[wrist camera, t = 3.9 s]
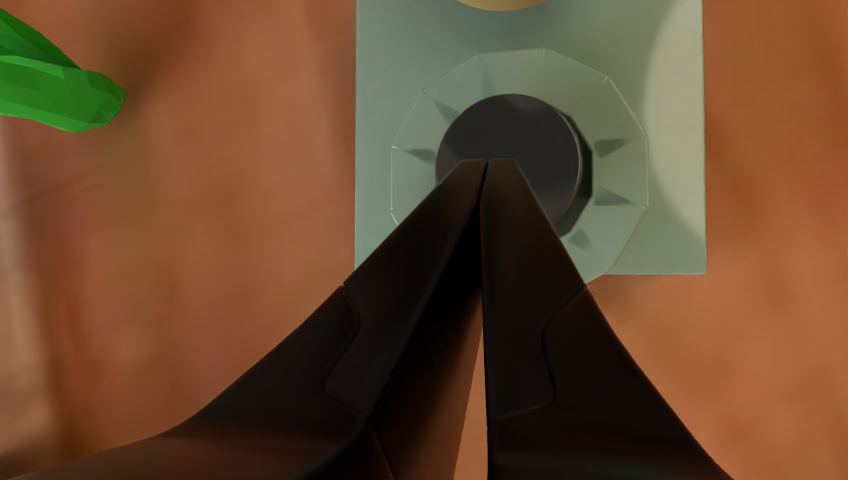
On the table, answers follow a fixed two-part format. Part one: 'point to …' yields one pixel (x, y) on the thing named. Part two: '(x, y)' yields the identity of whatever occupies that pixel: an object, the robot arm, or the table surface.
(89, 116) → the flower
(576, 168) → the button
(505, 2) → the lamp
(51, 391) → the table surface
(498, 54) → the lamp base
